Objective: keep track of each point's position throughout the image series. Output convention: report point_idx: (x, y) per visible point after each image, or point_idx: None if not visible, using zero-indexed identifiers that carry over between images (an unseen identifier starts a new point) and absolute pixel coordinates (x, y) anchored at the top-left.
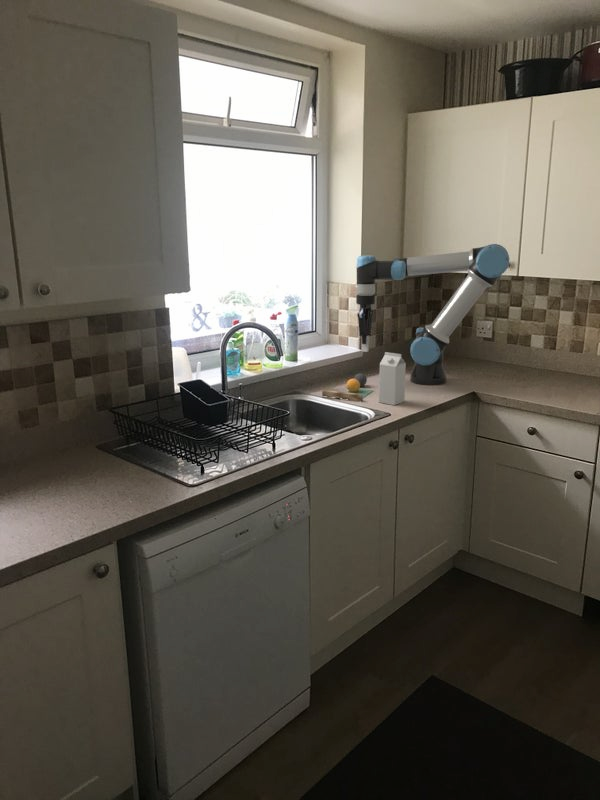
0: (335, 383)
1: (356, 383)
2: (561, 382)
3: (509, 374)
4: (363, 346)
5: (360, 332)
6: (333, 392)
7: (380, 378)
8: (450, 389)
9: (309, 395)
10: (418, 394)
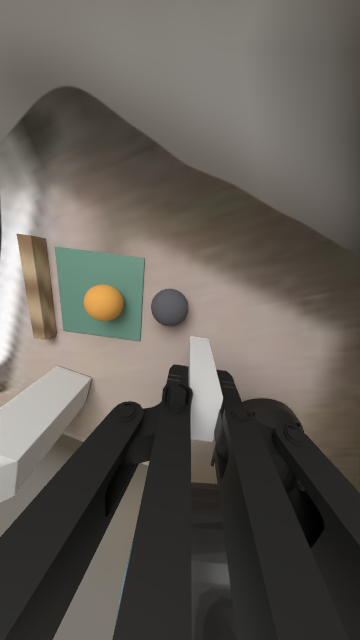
0: (186, 227)
1: (91, 316)
2: None
3: None
4: (188, 359)
5: (96, 438)
6: (22, 268)
7: (6, 405)
8: (197, 459)
9: (32, 192)
10: None
